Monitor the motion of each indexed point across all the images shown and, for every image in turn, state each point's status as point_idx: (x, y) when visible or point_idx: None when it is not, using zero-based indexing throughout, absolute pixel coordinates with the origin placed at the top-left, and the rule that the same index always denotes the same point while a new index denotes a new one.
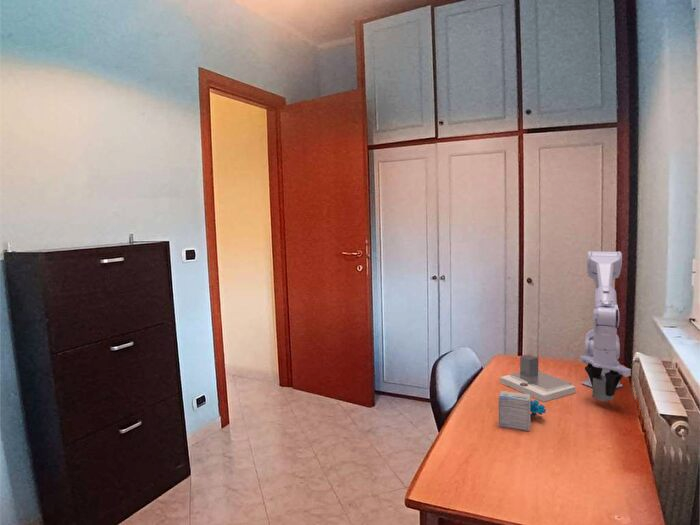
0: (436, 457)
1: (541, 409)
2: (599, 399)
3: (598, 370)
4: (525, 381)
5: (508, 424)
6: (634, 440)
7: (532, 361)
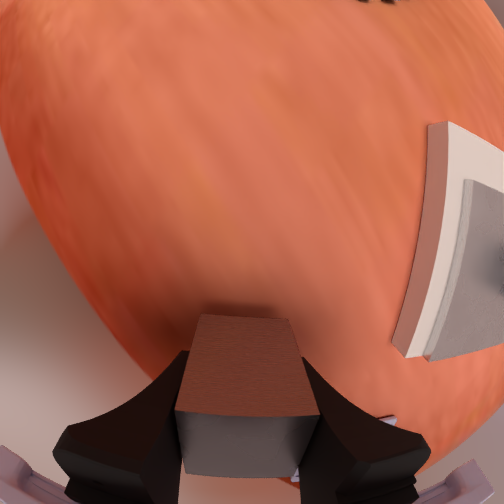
0: None
1: None
2: (238, 317)
3: (314, 494)
4: None
5: None
6: (9, 124)
7: None
